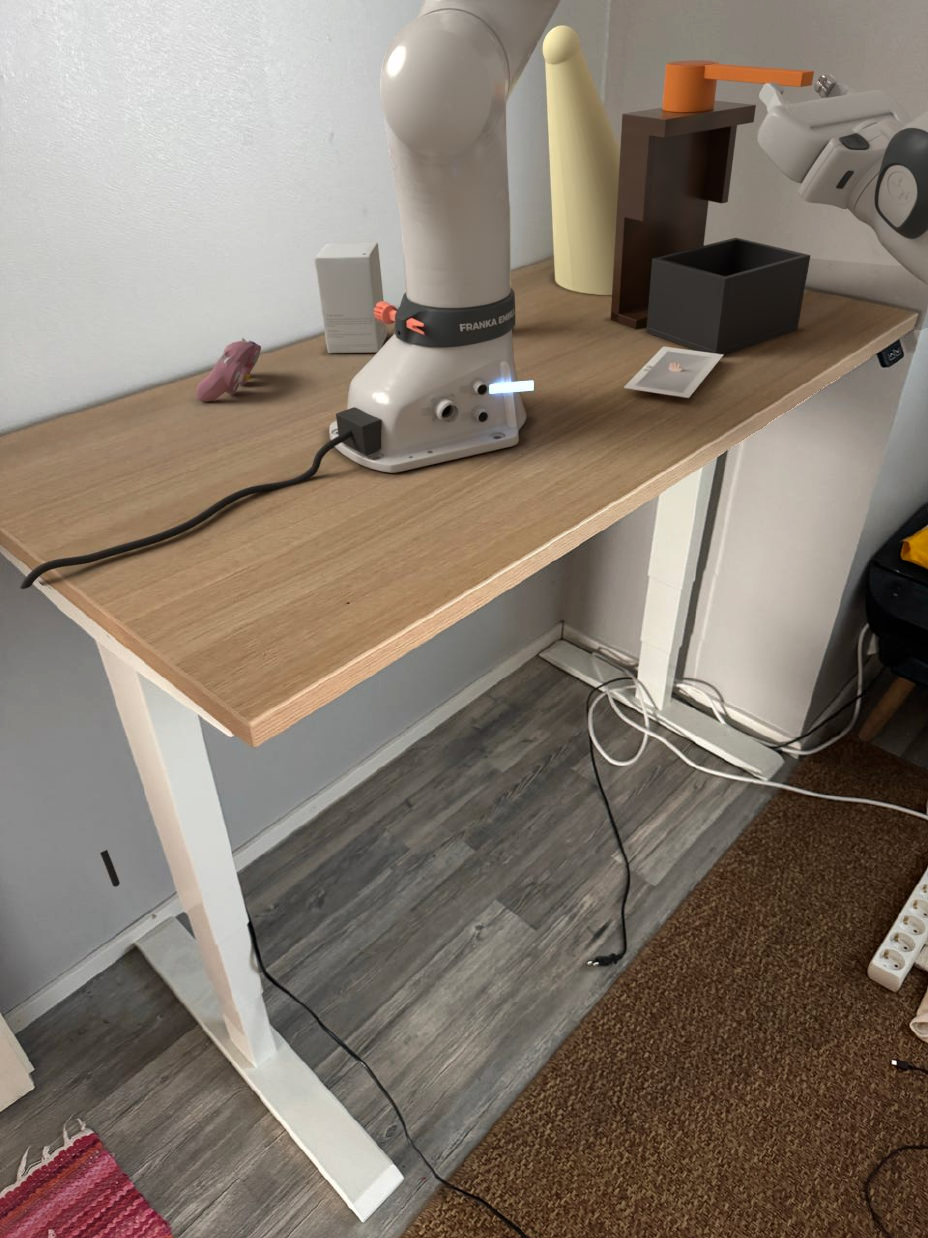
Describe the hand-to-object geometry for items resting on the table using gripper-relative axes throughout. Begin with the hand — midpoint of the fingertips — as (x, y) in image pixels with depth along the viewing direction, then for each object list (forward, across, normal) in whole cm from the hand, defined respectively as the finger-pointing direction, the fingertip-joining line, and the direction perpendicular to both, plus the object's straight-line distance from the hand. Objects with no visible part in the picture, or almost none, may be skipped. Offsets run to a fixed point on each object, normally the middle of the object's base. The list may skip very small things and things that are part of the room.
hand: (794, 83), depth 103 cm
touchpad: (-17, +17, +25) cm, 35 cm away
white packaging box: (+15, +41, +43) cm, 61 cm away
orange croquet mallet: (+6, 0, +8) cm, 10 cm away
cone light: (+15, -3, +43) cm, 46 cm away
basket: (-10, 0, +29) cm, 30 cm away
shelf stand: (-2, 0, +34) cm, 34 cm away
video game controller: (+11, +61, +41) cm, 74 cm away
